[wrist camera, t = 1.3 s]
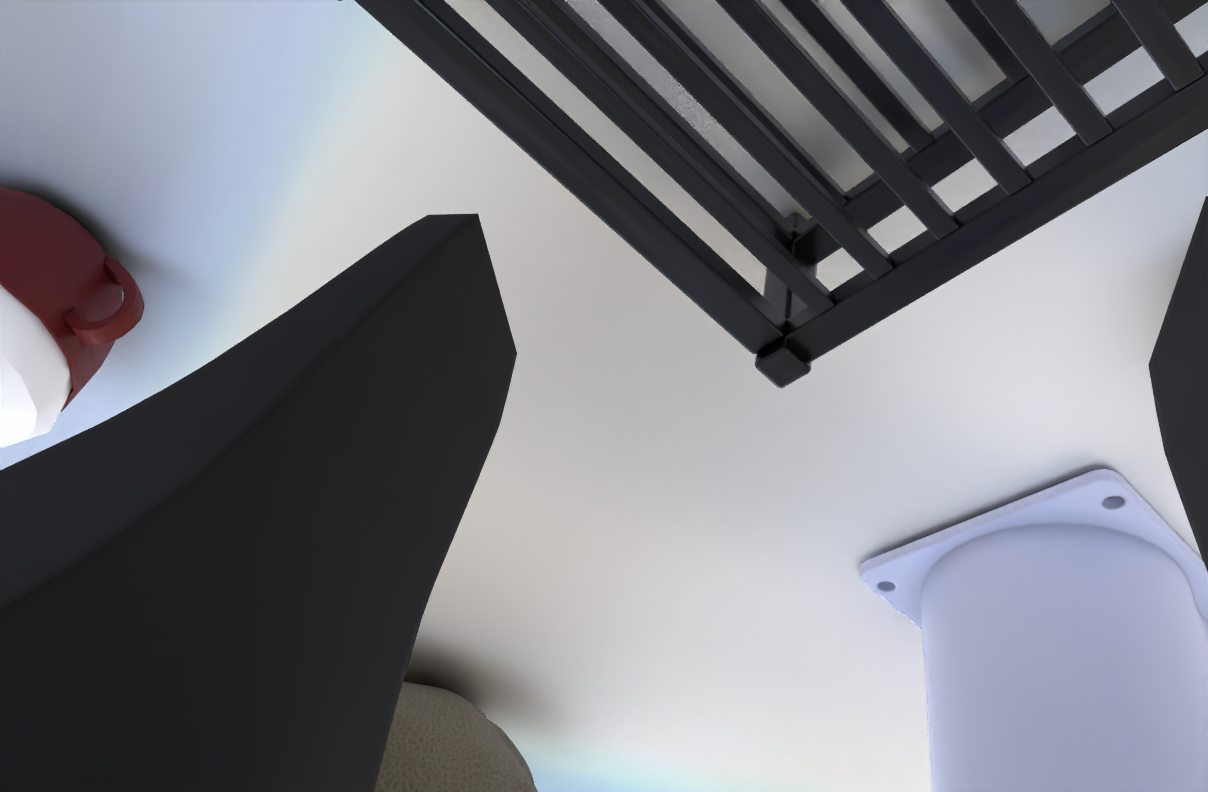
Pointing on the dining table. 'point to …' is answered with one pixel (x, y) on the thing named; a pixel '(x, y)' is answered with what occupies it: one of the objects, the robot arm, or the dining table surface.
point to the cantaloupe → (448, 747)
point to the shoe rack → (794, 246)
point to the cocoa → (53, 312)
